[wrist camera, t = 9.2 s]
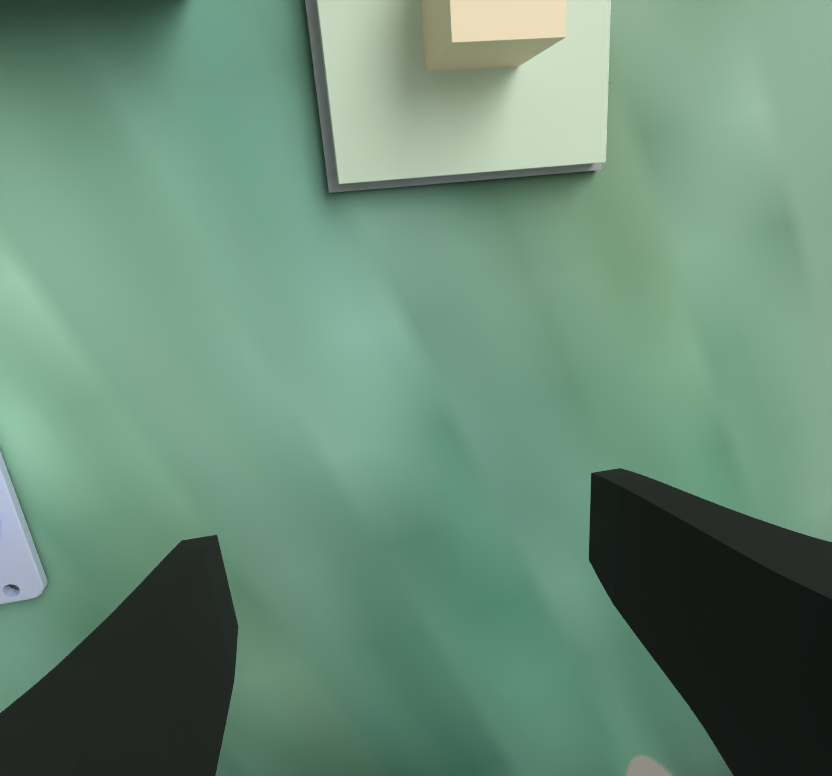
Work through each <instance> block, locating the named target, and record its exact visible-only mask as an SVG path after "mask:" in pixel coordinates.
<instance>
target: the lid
mask: <svg viewBox="0 0 832 776" xmlns="http://www.w3.org/2000/svg"><path fill="white" fill-rule="evenodd" d="M316 5H317V13H318V21H319V30H320V38H321V47H322V55H323V63H324V72H325V80H326V89H327V97H328V105H329V114H330V122H331V131H332V139H333V147H334V156H335V164H336V173H337V181H338V184H349V183H361V182H373V181H385V180H398V179H410V178H422V177H434V176H446V175H458V174H470V173H483V172H495V171H507V170H519V169H531V168H543V167H555V166H568V165H580V164H592V163H601V162H606V139H607V107H608V75H609V43H610V11H611V0H316Z"/></svg>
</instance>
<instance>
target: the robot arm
mask: <svg viewBox="0 0 832 776" xmlns="http://www.w3.org/2000/svg"><path fill="white" fill-rule="evenodd" d="M589 561H590V563H591V565H592V567H593V569H594V570H595V572H596V574H597V576H598V578H599V580H600V582H601V584H602V585H603V587H604V589H605V591H606V592H607V594H608V596H609V597H610V599H611V601H612V603H613V604H614V606H615V607H616V608H617V610H618V611H619V613H620V614H621V615H622V617H623V618H624V619H625V621H626V622H627V624H628V625H629V626H630V628H631V629H632V630H633V632H634V633H635V634H636V636H637V637H638V638H639V640H640V641H641V642H642V644H643V645H644V646H645V648H646V649H647V650H648V652H649V653H650V654H651V656H652V657H653V658H654V660H655V661H656V662H657V664H658V665H659V666H660V668H661V669H662V670H663V672H664V673H665V674H666V676H667V677H668V678H669V680H670V681H671V682H672V684H673V685H674V686H675V688H676V689H677V690H678V692H679V693H680V694H681V696H682V697H683V698H684V700H685V701H686V702H687V704H688V705H689V707H690V708H691V710H692V711H693V712H694V714H695V715H696V717H697V718H698V720H699V721H700V723H701V724H702V725H703V727H704V728H705V730H706V731H707V733H708V735H709V736H710V738H711V740H712V741H713V743H714V745H715V746H716V748H717V749H718V751H719V753H720V754H721V756H722V758H723V759H724V761H725V762H726V764H727V766H728V767H729V769H730V771H731V772H732V774H733V775H734V776H832V542H828V541H824V540H821V539H817V538H814V537H810V536H807V535H804V534H801V533H797V532H794V531H791V530H788V529H785V528H782V527H779V526H776V525H773V524H770V523H767V522H765V521H762V520H759V519H756V518H753V517H750V516H747V515H745V514H742V513H739V512H736V511H734V510H731V509H728V508H726V507H723V506H720V505H718V504H715V503H713V502H710V501H707V500H705V499H702V498H700V497H697V496H695V495H692V494H690V493H687V492H684V491H682V490H679V489H677V488H674V487H672V486H669V485H667V484H664V483H662V482H659V481H656V480H654V479H651V478H648V477H646V476H643V475H640V474H637V473H634V472H631V471H628V470H624V469H621V468H619V469H613V470H607V471H601V472H595V473H591V503H590V538H589ZM9 584H14V585H16V586H18V588H19V590H18V589H13V588H11V587H10V586H9ZM46 586H47V578H46V575H45V572H44V570H43V567H42V564H41V561H40V559H39V556H38V553H37V550H36V548H35V545H34V542H33V539H32V537H31V534H30V531H29V528H28V526H27V523H26V520H25V517H24V515H23V512H22V509H21V506H20V504H19V501H18V498H17V495H16V493H15V490H14V487H13V484H12V482H11V479H10V476H9V473H8V471H7V468H6V465H5V462H4V459H3V457H2V454H1V451H0V604H5V603H11V602H17V601H22V600H28V599H33V598H36V597H38V596H39V595H41V594H42V592H43V591H44V589H45V588H46ZM237 635H238V623H237V619H236V615H235V611H234V606H233V602H232V598H231V593H230V589H229V585H228V580H227V576H226V572H225V568H224V563H223V559H222V555H221V550H220V546H219V542H218V537H217V535H213V536H207V537H201V538H195V539H189V540H183V541H181V542H180V543H179V544H178V545H177V546H176V547H175V548H174V549H173V550H172V551H171V552H170V553H169V554H168V555H167V556H166V557H165V558H164V559H163V560H162V561H161V562H160V563H159V565H158V566H157V567H156V568H155V569H154V570H153V571H152V572H151V573H150V574H149V575H148V576H147V577H146V578H145V579H144V581H143V582H142V583H141V584H140V585H139V586H138V587H137V588H136V589H135V590H134V591H133V592H132V593H131V594H130V595H129V596H128V597H127V598H126V599H125V600H124V601H123V602H122V603H121V604H120V605H119V606H118V607H117V609H116V610H115V611H114V612H113V613H112V614H111V615H110V616H109V617H108V618H107V619H106V620H105V621H103V622H102V623H101V624H100V625H99V626H98V627H97V628H96V629H95V630H94V631H93V632H92V633H91V634H90V635H89V636H88V637H87V638H86V639H85V640H83V641H82V642H81V643H80V644H79V645H78V646H77V647H76V648H75V649H74V650H73V651H72V652H71V653H70V654H69V655H68V656H67V657H66V658H65V659H63V660H62V661H61V662H60V663H59V664H58V665H57V666H56V667H55V668H54V669H52V670H51V671H50V672H49V673H48V674H47V675H46V676H45V677H43V678H42V679H41V680H40V681H39V682H38V683H36V684H35V685H34V686H33V687H32V688H31V689H29V690H28V691H27V692H26V693H25V694H23V695H22V696H21V697H20V698H18V699H17V700H16V701H15V702H13V703H12V704H11V705H10V706H9V707H7V708H6V709H5V710H4V711H2V712H1V713H0V776H215V774H216V769H217V764H218V759H219V754H220V750H221V745H222V740H223V735H224V730H225V725H226V720H227V715H228V709H229V704H230V699H231V694H232V689H233V683H234V676H235V664H236V651H237Z"/></svg>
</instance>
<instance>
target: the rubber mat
mask: <svg viewBox="0 0 832 776" xmlns="http://www.w3.org/2000/svg"><path fill="white" fill-rule="evenodd" d="M305 5H306V13H307V21H308V29H309V37H310V45H311V53H312V61H313V69H314V77H315V85H316V93H317V101H318V109H319V118H320V126H321V134H322V142H323V150H324V158H325V166H326V174H327V182H328V190H329V193H332V192H344V191H356V190H368V189H380V188H392V187H404V186H416V185H428V184H440V183H452V182H464V181H476V180H488V179H500V178H512V177H523V176H535V175H547V174H559V173H571V172H583V171H595V170H602V164H603V162H601V163H592V164H580V165H568V166H555V167H543V168H531V169H519V170H507V171H495V172H483V173H470V174H458V175H446V176H434V177H422V178H410V179H398V180H385V181H373V182H361V183H349V184H338V181H337V173H336V164H335V156H334V147H333V139H332V131H331V122H330V114H329V105H328V97H327V89H326V80H325V72H324V63H323V55H322V47H321V38H320V30H319V21H318V13H317V5H316V0H305Z"/></svg>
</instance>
